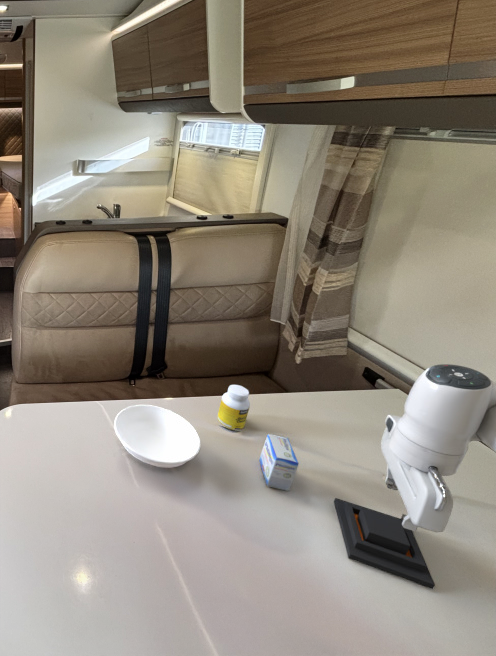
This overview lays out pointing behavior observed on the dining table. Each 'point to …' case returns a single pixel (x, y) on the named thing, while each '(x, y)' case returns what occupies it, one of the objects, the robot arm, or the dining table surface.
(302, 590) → the dining table surface
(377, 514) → the black block
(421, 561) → the picture frame
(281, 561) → the dining table surface
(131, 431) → the bowl
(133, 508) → the dining table surface
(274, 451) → the medicine box
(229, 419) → the pill bottle
